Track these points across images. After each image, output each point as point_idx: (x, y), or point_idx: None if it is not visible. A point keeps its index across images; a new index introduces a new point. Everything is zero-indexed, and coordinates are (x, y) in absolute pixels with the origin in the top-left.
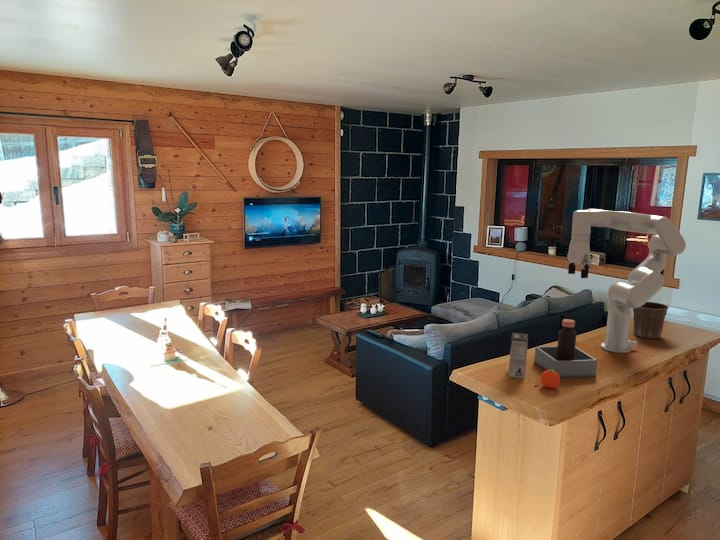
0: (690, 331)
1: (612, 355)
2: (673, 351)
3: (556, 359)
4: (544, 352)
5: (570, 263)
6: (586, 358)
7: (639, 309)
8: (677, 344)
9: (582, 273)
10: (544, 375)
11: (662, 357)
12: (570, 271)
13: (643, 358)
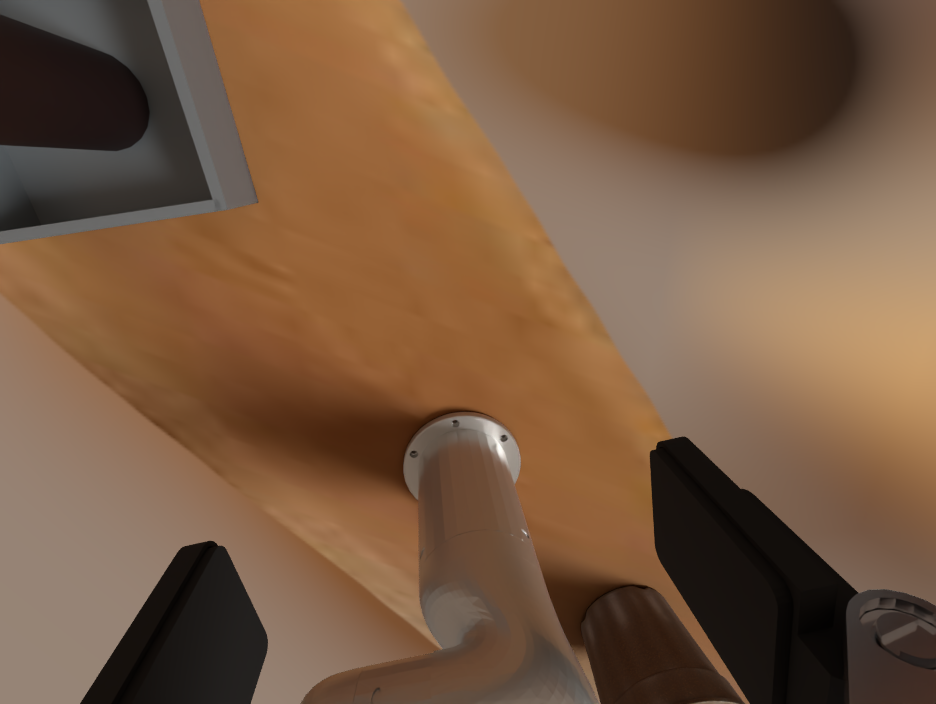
0: None
1: (373, 419)
2: None
3: (71, 40)
4: None
5: (848, 688)
6: (72, 220)
7: (662, 699)
8: None
9: (138, 648)
10: None
11: (374, 579)
12: (677, 499)
13: (352, 517)
